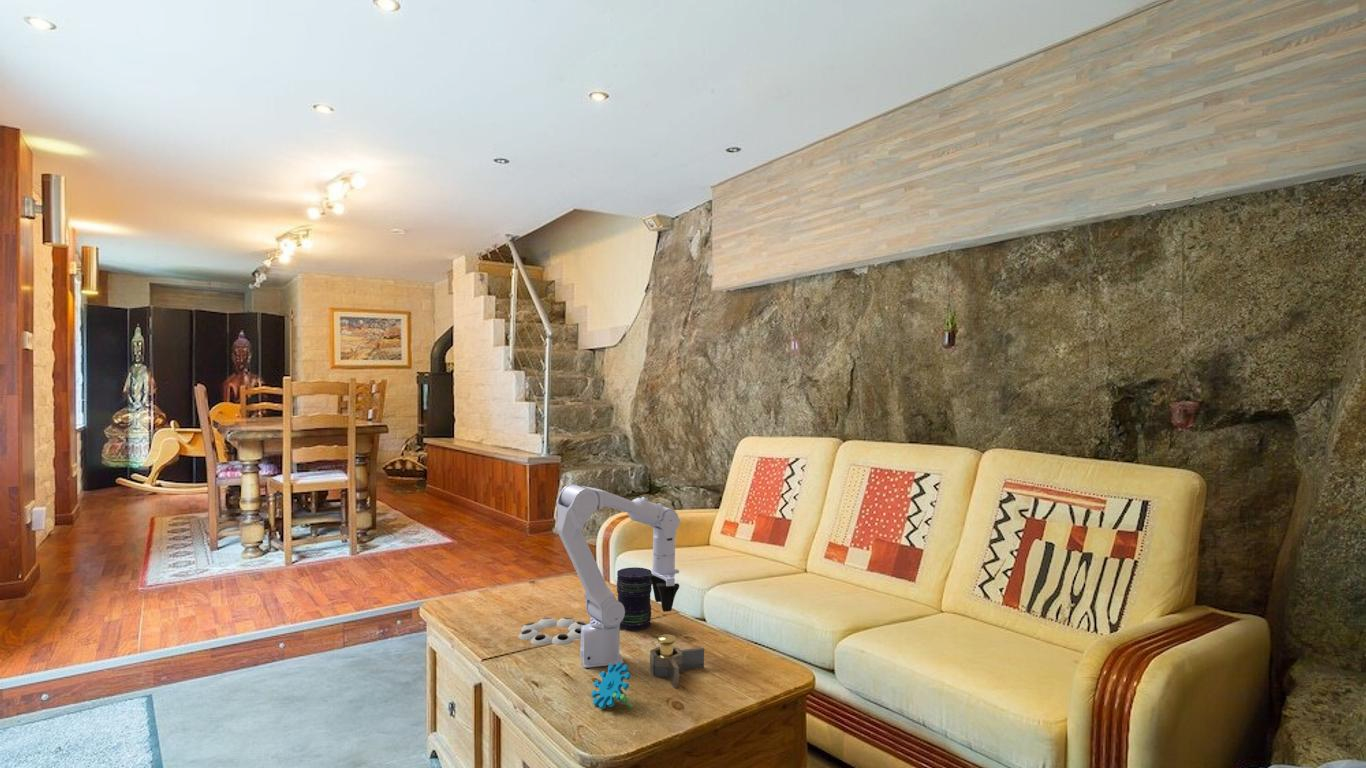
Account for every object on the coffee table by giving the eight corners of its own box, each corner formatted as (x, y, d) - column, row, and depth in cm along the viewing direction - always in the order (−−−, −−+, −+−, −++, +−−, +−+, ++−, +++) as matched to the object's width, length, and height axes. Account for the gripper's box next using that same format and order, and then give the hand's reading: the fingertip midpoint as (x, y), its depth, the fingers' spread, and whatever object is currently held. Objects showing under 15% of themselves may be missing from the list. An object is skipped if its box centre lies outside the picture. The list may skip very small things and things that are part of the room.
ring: (600, 640, 182) (600, 633, 182) (527, 652, 173) (527, 644, 173) (578, 617, 199) (578, 610, 199) (510, 626, 191) (510, 619, 191)
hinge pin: (659, 675, 159) (660, 641, 159) (656, 668, 163) (656, 635, 163) (676, 673, 160) (677, 639, 160) (672, 667, 164) (673, 633, 164)
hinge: (661, 689, 152) (661, 669, 152) (647, 666, 165) (648, 647, 165) (715, 683, 156) (716, 663, 156) (698, 660, 168) (698, 642, 168)
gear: (583, 688, 148) (615, 652, 151) (599, 702, 151) (631, 666, 153) (602, 717, 139) (636, 678, 141) (619, 732, 141) (652, 693, 144)
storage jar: (618, 618, 197) (619, 566, 197) (652, 619, 197) (653, 567, 197) (613, 631, 188) (614, 576, 188) (649, 632, 187) (650, 577, 187)
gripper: (686, 559, 171) (685, 614, 171) (671, 546, 185) (670, 596, 185) (659, 561, 169) (658, 616, 169) (646, 547, 183) (645, 598, 183)
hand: (663, 606), depth 177 cm, fingers open, 7 cm apart
